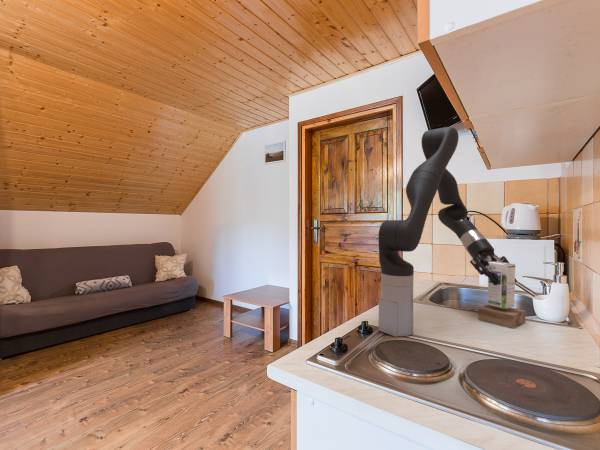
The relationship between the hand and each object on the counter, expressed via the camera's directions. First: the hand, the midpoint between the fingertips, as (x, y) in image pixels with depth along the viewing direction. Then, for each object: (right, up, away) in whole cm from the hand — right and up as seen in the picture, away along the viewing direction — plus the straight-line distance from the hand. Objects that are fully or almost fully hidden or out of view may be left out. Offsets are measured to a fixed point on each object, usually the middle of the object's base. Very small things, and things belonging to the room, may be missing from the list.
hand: (506, 283), depth 96 cm
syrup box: (-1, -8, +2) cm, 8 cm away
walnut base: (-1, -13, +1) cm, 13 cm away
